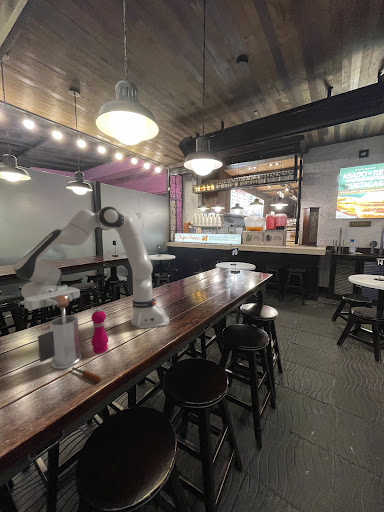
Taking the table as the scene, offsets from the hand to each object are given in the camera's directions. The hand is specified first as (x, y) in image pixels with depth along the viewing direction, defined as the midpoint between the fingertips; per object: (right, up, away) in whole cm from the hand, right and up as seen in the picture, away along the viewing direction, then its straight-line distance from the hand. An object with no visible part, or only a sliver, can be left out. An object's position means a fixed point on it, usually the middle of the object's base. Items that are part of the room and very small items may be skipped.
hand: (63, 301), depth 87 cm
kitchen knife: (+12, -28, -5) cm, 30 cm away
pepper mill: (+10, -25, +12) cm, 30 cm away
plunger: (-1, -24, +3) cm, 24 cm away
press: (-1, -26, +2) cm, 26 cm away
